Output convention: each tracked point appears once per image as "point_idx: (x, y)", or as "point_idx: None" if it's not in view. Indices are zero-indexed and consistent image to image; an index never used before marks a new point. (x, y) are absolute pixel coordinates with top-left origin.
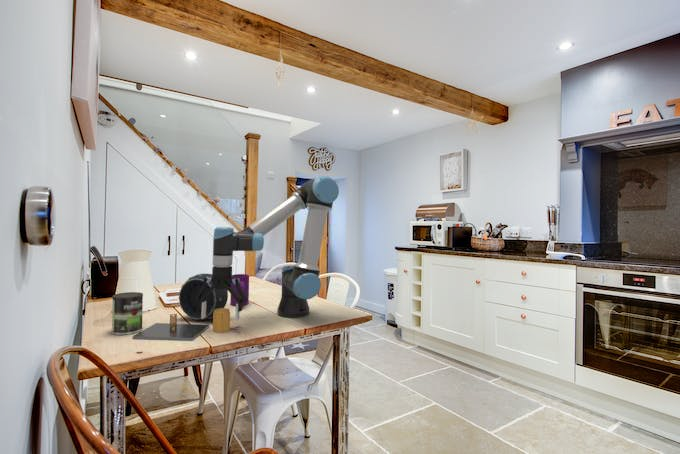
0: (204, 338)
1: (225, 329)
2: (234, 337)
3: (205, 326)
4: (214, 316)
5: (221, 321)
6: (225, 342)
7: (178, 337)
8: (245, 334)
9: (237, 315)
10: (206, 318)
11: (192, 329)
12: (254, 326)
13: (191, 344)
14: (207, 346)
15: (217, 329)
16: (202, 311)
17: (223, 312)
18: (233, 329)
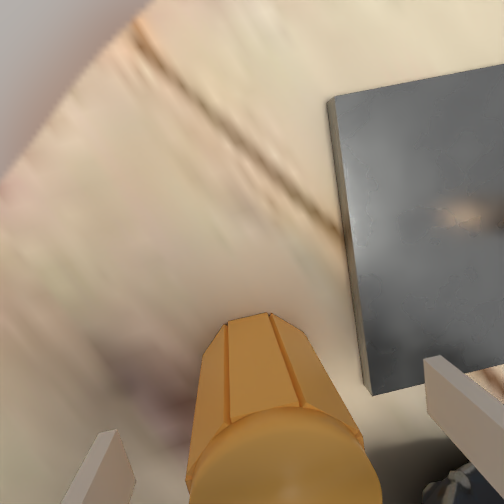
0: (271, 173)
1: (210, 351)
2: (74, 256)
3: (378, 355)
4: (321, 393)
5: (232, 367)
6: (68, 136)
7: (441, 76)
8: (37, 336)
9: (72, 481)
10: (447, 476)
11: (432, 271)
12: None
13: (289, 24)
14: (146, 12)
15: (258, 322)
16: (494, 410)
17: (217, 453)
18: (184, 397)
